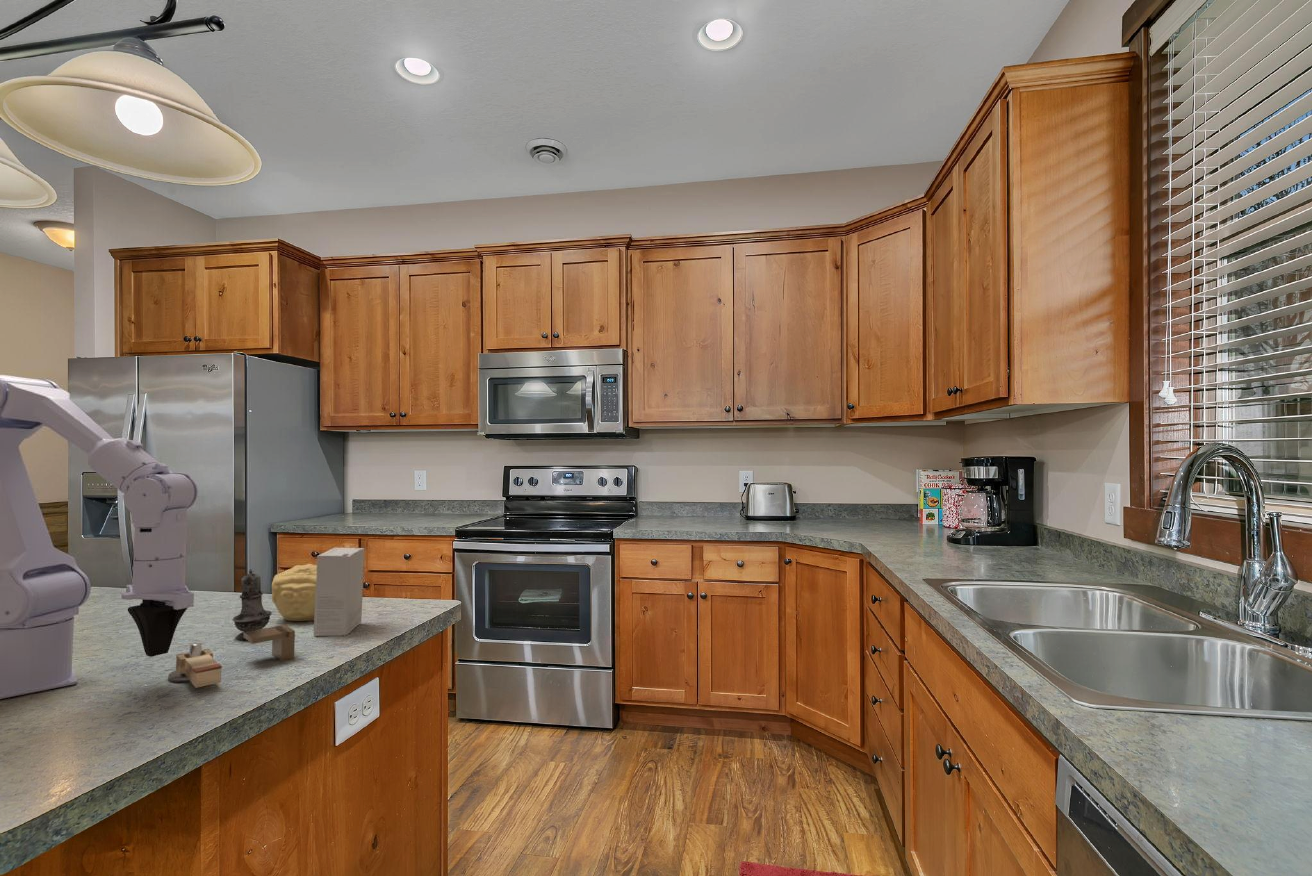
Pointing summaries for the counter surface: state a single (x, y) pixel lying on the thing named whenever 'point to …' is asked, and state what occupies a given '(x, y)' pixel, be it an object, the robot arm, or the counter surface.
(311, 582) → the sculpture
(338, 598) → the skincare box
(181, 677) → the pintle base
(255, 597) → the dark grey tall piece
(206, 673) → the link
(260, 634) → the keeper
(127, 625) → the counter surface
